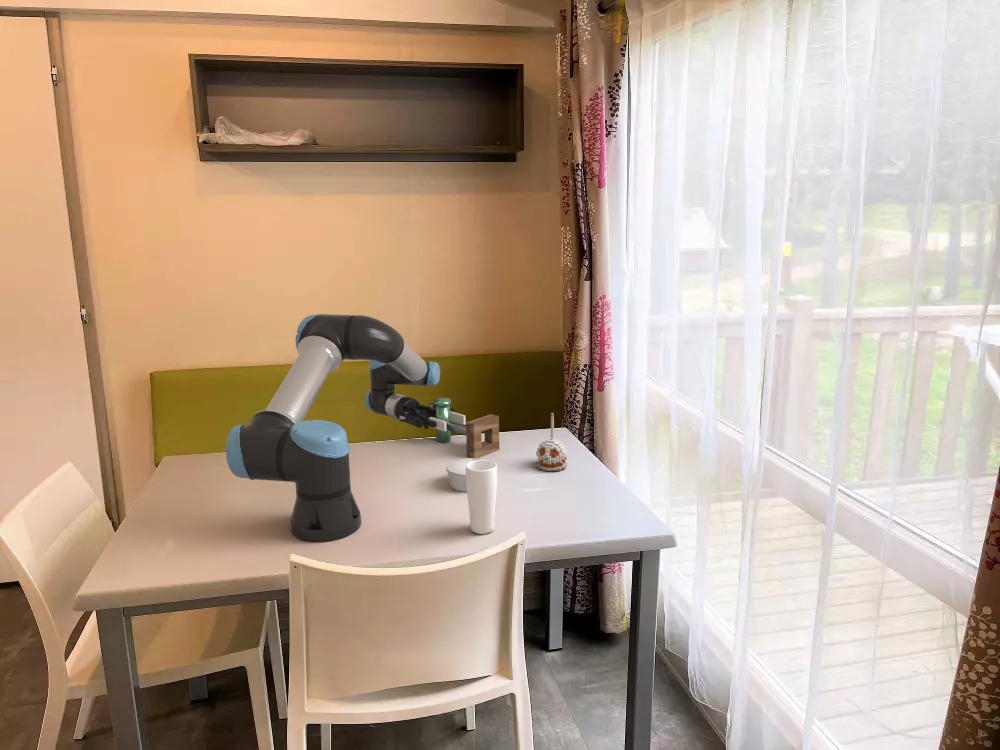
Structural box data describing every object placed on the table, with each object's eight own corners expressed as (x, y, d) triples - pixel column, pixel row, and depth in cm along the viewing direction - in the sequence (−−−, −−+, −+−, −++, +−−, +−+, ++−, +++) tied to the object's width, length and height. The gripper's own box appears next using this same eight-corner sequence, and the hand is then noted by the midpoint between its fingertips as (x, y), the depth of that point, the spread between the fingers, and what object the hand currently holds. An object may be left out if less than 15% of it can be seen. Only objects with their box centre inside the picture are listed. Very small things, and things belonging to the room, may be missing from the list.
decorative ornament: (532, 469, 193) (532, 415, 190) (544, 460, 200) (544, 407, 196) (559, 474, 190) (560, 419, 186) (571, 464, 196) (571, 411, 193)
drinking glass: (488, 539, 155) (487, 473, 152) (461, 532, 159) (459, 467, 155) (503, 526, 161) (502, 462, 157) (477, 520, 164) (475, 457, 161)
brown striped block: (466, 456, 203) (466, 422, 200) (491, 447, 210) (491, 414, 208) (474, 459, 201) (473, 424, 199) (499, 449, 208) (498, 416, 206)
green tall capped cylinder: (432, 440, 216) (430, 400, 213) (444, 436, 219) (443, 396, 216) (468, 451, 206) (467, 410, 203) (480, 447, 209) (479, 406, 206)
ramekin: (500, 483, 185) (500, 463, 184) (472, 498, 176) (472, 477, 175) (466, 473, 191) (465, 454, 190) (438, 487, 183) (437, 467, 182)
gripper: (427, 412, 234) (479, 427, 219) (378, 427, 220) (429, 444, 205) (426, 389, 232) (478, 403, 217) (377, 403, 218) (429, 418, 203)
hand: (455, 423), depth 211 cm, fingers open, 7 cm apart
